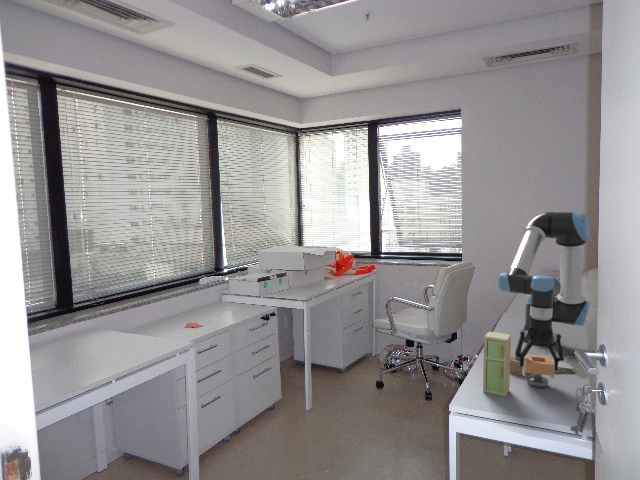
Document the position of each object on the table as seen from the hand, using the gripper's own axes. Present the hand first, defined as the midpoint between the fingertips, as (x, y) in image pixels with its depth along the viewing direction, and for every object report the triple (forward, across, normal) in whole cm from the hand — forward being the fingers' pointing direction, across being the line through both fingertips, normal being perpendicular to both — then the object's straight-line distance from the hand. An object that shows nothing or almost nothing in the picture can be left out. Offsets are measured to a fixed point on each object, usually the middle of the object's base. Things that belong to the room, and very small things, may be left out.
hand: (537, 376), depth 173 cm
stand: (+3, -6, +12) cm, 13 cm away
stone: (+4, +9, +20) cm, 23 cm away
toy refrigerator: (+4, -15, -11) cm, 19 cm away
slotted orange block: (-3, 0, 0) cm, 3 cm away
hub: (+3, 0, 0) cm, 3 cm away
